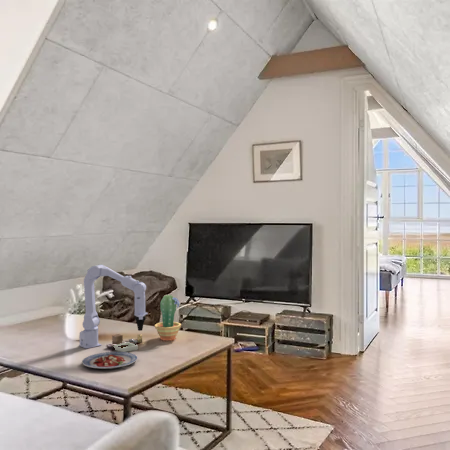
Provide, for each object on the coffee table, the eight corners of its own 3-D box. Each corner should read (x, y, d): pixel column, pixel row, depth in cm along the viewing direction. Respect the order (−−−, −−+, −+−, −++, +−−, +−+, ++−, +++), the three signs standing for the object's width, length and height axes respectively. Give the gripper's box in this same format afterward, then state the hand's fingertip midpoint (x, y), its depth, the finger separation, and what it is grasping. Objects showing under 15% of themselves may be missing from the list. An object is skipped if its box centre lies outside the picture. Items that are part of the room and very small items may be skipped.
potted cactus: (168, 343, 263) (168, 298, 262) (148, 339, 272) (148, 295, 271) (187, 337, 275) (186, 294, 274) (167, 333, 284) (167, 292, 284)
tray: (122, 353, 244) (122, 348, 244) (113, 349, 251) (113, 345, 250) (138, 349, 250) (138, 345, 250) (128, 346, 257) (128, 342, 257)
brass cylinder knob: (127, 342, 260) (127, 334, 260) (130, 340, 263) (130, 333, 263) (140, 343, 258) (140, 335, 258) (143, 341, 261) (142, 334, 261)
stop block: (116, 347, 254) (116, 336, 254) (112, 346, 257) (112, 335, 257) (122, 346, 257) (122, 335, 257) (118, 344, 260) (118, 334, 260)
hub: (130, 346, 257) (130, 343, 257) (125, 344, 261) (125, 342, 261) (137, 344, 261) (137, 342, 261) (132, 342, 265) (132, 340, 265)
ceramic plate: (72, 363, 227) (72, 357, 227) (119, 352, 245) (118, 347, 245) (99, 376, 209) (99, 369, 209) (148, 363, 227) (148, 357, 227)
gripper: (148, 307, 249) (148, 333, 249) (146, 302, 263) (146, 326, 264) (134, 307, 248) (135, 333, 248) (133, 303, 262) (133, 327, 262)
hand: (140, 330), depth 256 cm, fingers closed
